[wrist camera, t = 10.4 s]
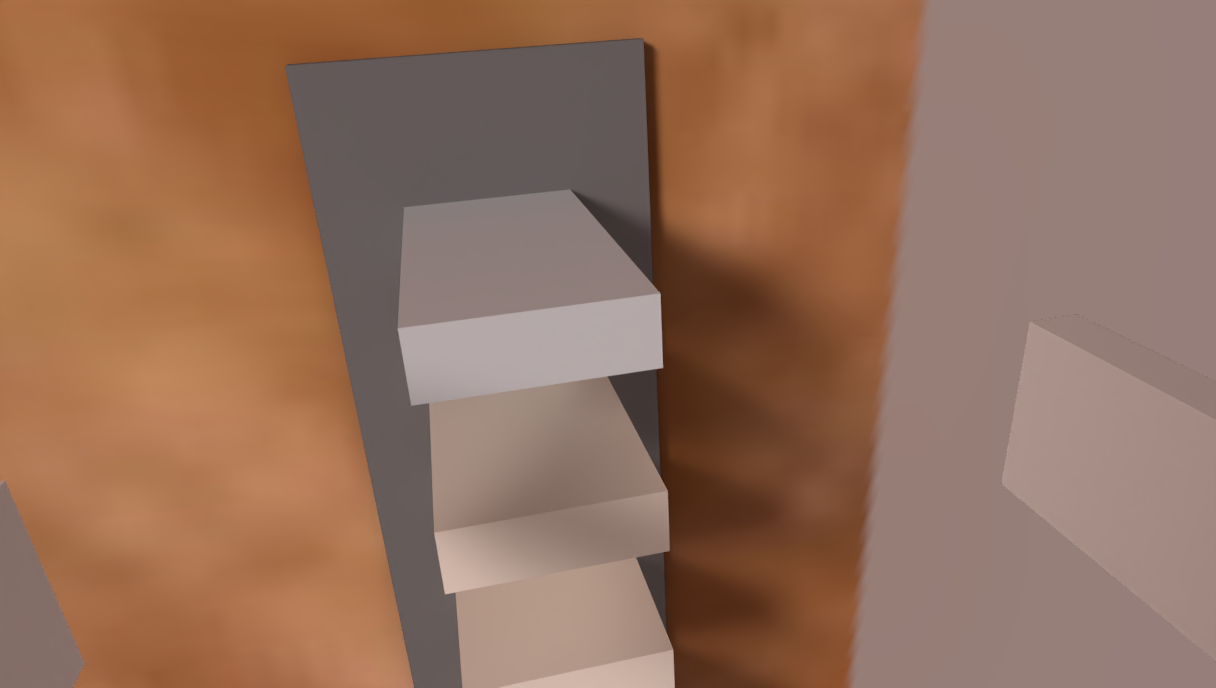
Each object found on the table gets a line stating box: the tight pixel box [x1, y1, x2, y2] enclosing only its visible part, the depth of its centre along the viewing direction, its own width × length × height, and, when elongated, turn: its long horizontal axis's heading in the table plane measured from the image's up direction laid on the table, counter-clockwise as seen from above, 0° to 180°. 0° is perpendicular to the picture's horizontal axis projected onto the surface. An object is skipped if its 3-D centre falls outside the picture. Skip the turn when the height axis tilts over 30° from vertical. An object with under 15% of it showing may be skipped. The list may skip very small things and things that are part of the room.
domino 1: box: [398, 190, 663, 406], centre depth 20 cm, size 2×5×10 cm, turn 93°
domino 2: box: [429, 376, 670, 594], centre depth 22 cm, size 2×5×10 cm, turn 93°
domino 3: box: [456, 558, 675, 688], centre depth 24 cm, size 2×5×10 cm, turn 93°
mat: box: [285, 38, 667, 688], centre depth 29 cm, size 32×10×1 cm, turn 3°
